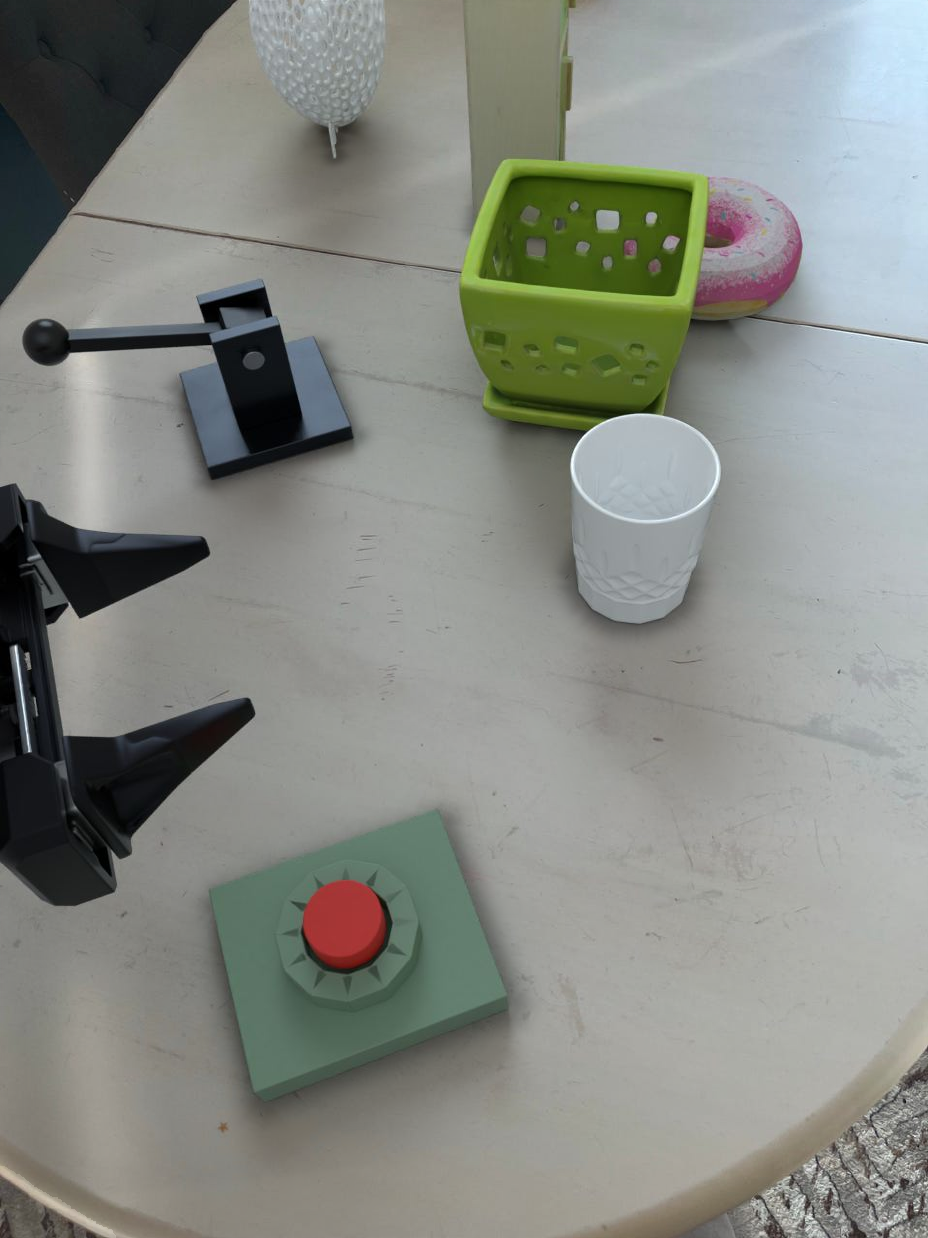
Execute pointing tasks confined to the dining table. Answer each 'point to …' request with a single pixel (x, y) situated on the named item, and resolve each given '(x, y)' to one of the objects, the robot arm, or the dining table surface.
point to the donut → (741, 251)
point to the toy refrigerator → (516, 85)
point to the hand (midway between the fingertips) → (229, 621)
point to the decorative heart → (321, 55)
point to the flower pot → (581, 290)
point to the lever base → (260, 390)
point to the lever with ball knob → (126, 335)
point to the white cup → (640, 513)
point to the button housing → (368, 994)
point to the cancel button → (344, 924)
